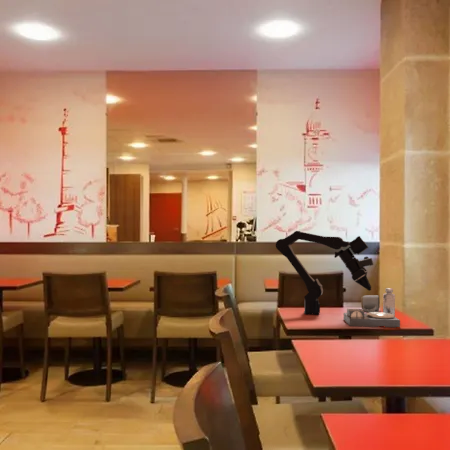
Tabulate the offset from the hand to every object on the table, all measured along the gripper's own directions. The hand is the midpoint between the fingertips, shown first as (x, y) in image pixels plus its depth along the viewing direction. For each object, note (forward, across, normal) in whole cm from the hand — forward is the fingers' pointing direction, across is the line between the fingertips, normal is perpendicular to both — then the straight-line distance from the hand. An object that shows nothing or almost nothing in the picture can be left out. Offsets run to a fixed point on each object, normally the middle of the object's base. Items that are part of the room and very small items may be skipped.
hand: (370, 289), depth 227 cm
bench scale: (+10, -16, +7) cm, 20 cm away
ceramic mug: (+10, +20, +8) cm, 24 cm away
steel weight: (+15, -2, +1) cm, 15 cm away
